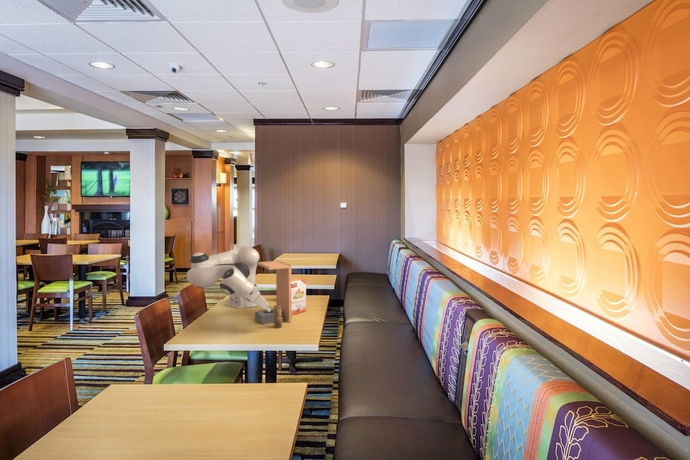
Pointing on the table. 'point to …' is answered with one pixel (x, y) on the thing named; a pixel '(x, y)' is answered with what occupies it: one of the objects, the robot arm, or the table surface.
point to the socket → (264, 316)
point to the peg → (277, 316)
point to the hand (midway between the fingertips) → (267, 308)
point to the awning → (282, 286)
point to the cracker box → (298, 295)
